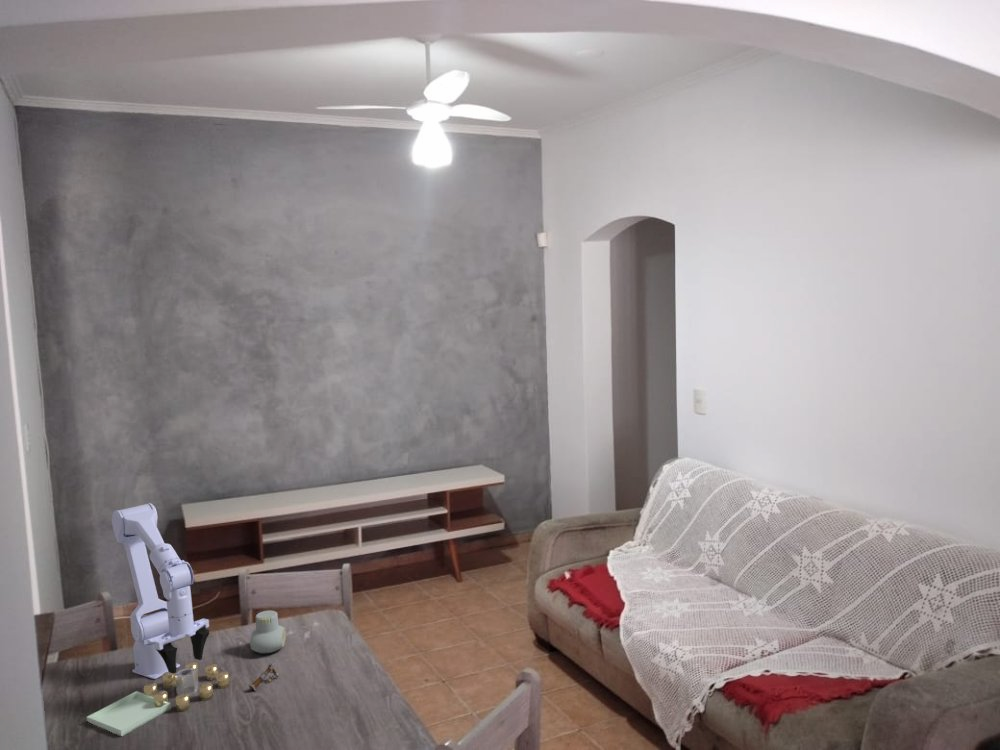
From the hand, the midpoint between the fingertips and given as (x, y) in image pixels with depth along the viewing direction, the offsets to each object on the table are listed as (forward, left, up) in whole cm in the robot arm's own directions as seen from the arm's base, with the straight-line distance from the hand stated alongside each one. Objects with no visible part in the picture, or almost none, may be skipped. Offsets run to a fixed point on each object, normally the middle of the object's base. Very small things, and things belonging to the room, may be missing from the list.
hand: (185, 665), depth 198 cm
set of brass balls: (0, 0, -7) cm, 7 cm away
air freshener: (+1, +26, -7) cm, 27 cm away
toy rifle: (+15, +11, -7) cm, 20 cm away
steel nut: (0, 0, -7) cm, 7 cm away
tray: (-3, -14, -7) cm, 16 cm away
